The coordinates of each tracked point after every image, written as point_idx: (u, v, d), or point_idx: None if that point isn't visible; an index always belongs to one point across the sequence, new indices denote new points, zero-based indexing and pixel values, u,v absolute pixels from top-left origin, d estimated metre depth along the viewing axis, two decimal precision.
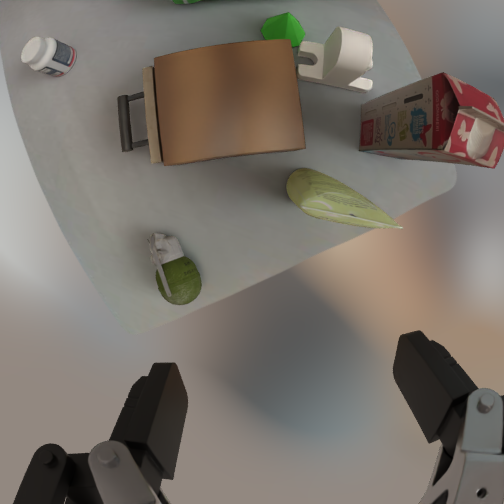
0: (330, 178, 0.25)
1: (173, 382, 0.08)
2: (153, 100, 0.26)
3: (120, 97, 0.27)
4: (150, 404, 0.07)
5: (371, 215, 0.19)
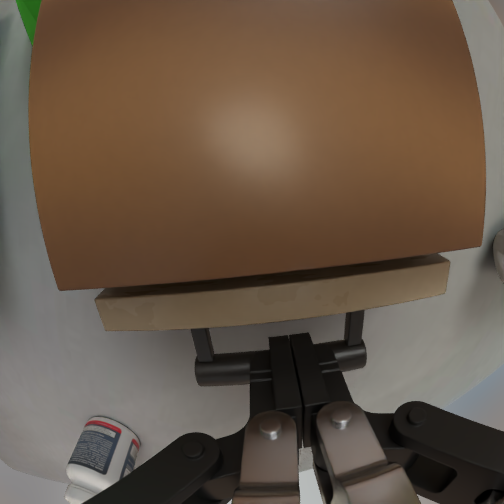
0: None
1: None
2: (233, 295, 0.08)
3: (201, 381, 0.11)
4: (287, 372, 0.08)
5: None
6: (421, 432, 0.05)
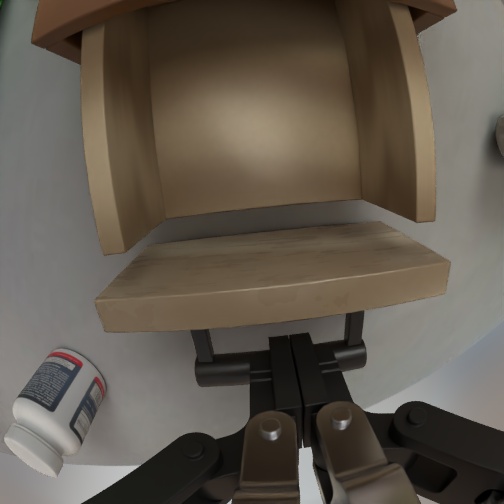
0: None
1: None
2: (233, 296, 0.08)
3: (201, 382, 0.11)
4: (287, 372, 0.08)
5: None
6: (421, 432, 0.05)
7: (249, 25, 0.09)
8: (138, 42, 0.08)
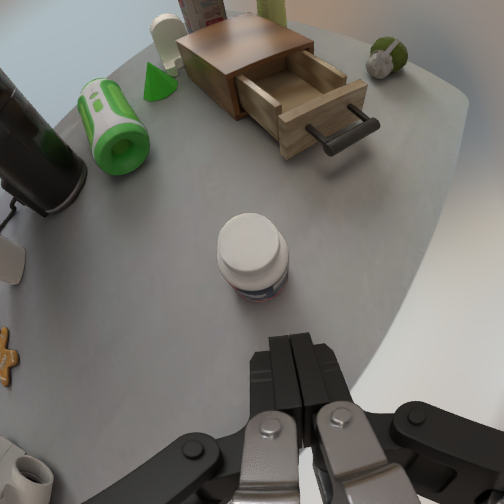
0: None
1: None
2: (314, 99, 0.24)
3: (330, 144, 0.24)
4: (287, 372, 0.08)
5: None
6: (421, 432, 0.05)
7: (271, 85, 0.32)
8: None
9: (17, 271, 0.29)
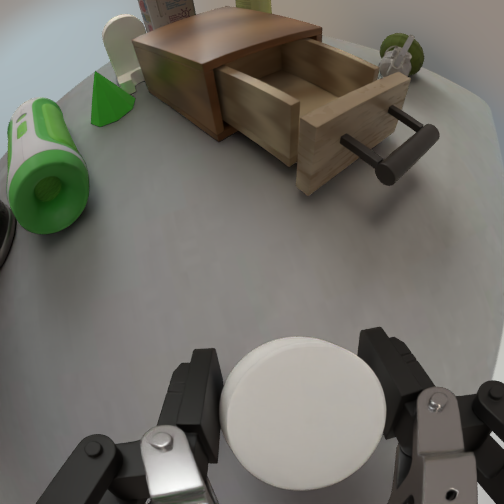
0: None
1: (214, 367, 0.09)
2: (350, 94, 0.15)
3: (390, 165, 0.14)
4: (198, 387, 0.07)
5: None
6: (496, 407, 0.04)
7: None
8: None
9: None
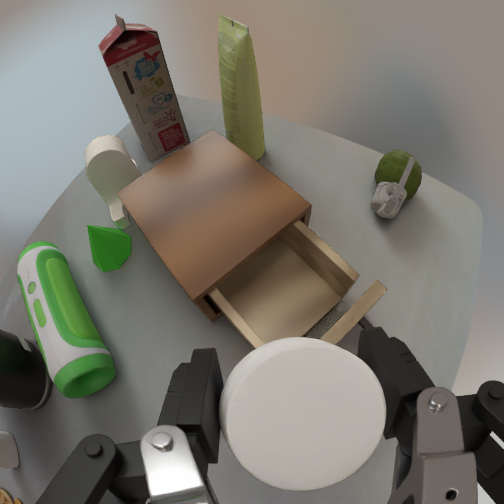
0: (222, 91, 0.28)
1: (214, 367, 0.09)
2: None
3: None
4: (198, 387, 0.07)
5: (225, 25, 0.22)
6: (496, 407, 0.04)
7: (253, 266, 0.28)
8: None
9: (13, 459, 0.18)
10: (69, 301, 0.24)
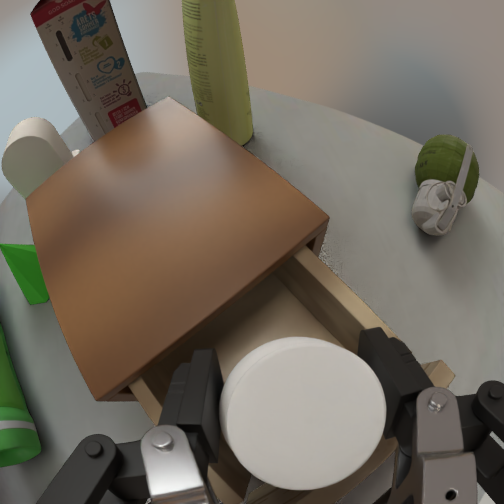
0: (186, 42, 0.16)
1: (214, 367, 0.09)
2: None
3: None
4: (198, 387, 0.07)
5: None
6: (496, 407, 0.04)
7: (219, 317, 0.16)
8: (158, 367, 0.14)
9: None
10: None
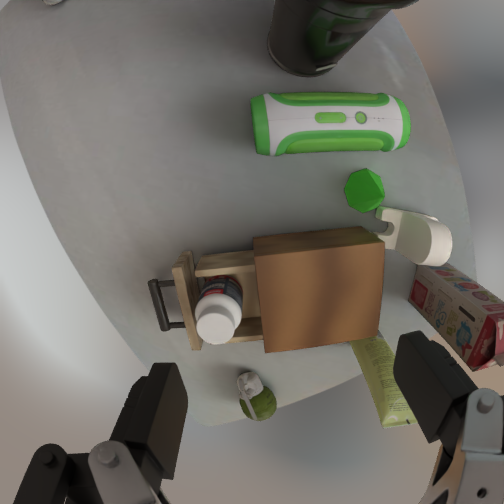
0: (392, 365, 0.31)
1: (173, 382, 0.08)
2: (187, 302, 0.32)
3: (151, 284, 0.33)
4: (150, 404, 0.07)
5: None
6: None
7: None
8: None
9: None
10: (328, 147, 0.28)
